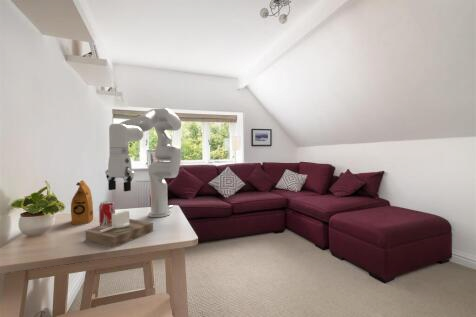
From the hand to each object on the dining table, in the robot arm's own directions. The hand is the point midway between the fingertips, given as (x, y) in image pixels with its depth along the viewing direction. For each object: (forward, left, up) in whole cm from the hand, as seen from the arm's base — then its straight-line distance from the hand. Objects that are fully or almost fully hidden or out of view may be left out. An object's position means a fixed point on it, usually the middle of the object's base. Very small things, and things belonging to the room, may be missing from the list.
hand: (119, 190), depth 102 cm
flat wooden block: (0, 0, -20) cm, 20 cm away
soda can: (-7, -19, -21) cm, 29 cm away
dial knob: (+3, 0, -16) cm, 16 cm away
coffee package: (-6, -38, -21) cm, 44 cm away
